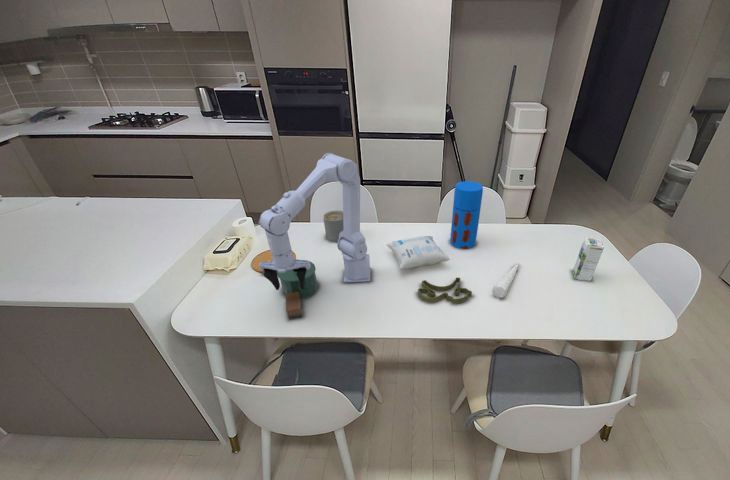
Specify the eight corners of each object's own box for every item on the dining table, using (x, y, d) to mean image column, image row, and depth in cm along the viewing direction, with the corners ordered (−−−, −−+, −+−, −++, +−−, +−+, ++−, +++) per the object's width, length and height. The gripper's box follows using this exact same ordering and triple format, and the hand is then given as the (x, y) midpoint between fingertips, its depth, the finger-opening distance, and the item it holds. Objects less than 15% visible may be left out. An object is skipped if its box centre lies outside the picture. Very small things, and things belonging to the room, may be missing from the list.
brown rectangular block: (302, 317, 111) (300, 308, 109) (288, 319, 110) (286, 310, 108) (300, 300, 118) (298, 291, 116) (287, 302, 117) (285, 293, 115)
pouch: (433, 228, 143) (386, 233, 138) (451, 252, 129) (400, 259, 124) (431, 244, 148) (386, 250, 143) (449, 269, 134) (399, 277, 129)
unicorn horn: (527, 268, 134) (530, 257, 131) (503, 300, 118) (506, 289, 116) (515, 264, 136) (517, 253, 133) (490, 295, 121) (492, 284, 118)
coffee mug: (324, 241, 149) (321, 220, 143) (328, 230, 157) (325, 210, 151) (356, 241, 150) (353, 220, 144) (358, 230, 158) (356, 210, 152)
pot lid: (317, 261, 125) (316, 254, 123) (313, 282, 115) (311, 274, 113) (281, 263, 124) (279, 255, 122) (273, 284, 114) (271, 276, 112)
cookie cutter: (464, 281, 127) (465, 276, 126) (473, 302, 118) (474, 297, 116) (415, 285, 125) (415, 280, 124) (421, 306, 116) (421, 302, 114)
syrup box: (572, 270, 133) (583, 237, 124) (588, 272, 132) (601, 238, 123) (574, 279, 128) (586, 245, 120) (591, 281, 127) (605, 247, 119)
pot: (319, 278, 128) (316, 261, 124) (315, 298, 119) (311, 280, 115) (287, 279, 127) (282, 262, 123) (280, 299, 118) (275, 282, 114)
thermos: (477, 249, 145) (485, 191, 130) (451, 249, 145) (456, 191, 130) (473, 236, 154) (480, 181, 139) (449, 236, 154) (454, 180, 139)
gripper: (251, 258, 97) (263, 296, 106) (303, 257, 98) (311, 295, 106) (258, 245, 103) (269, 282, 111) (308, 244, 104) (315, 281, 112)
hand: (290, 287), depth 109 cm, fingers open, 7 cm apart
